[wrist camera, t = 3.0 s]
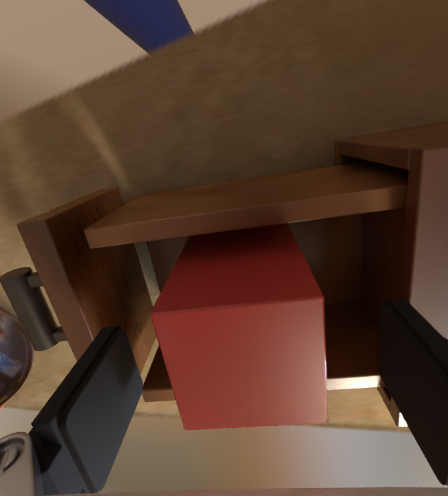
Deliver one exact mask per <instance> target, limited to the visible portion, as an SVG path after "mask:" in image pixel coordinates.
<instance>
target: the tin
mask: <svg viewBox="0 0 448 496" xmlns="http://www.w3.org/2000/svg"><path fill="white" fill-rule="evenodd" d="M33 361H34V348H33V346H32V344H31V342H30V340H29V338H28V336H27V334H26V332H25V330H24V328H23V326H22V324H21V322H20V321H19V320H18V319H16V318H15V317H14V316H12V315H11V314H9V313H8V312H6V311H4V310H3V309H1V308H0V410H1V409H2V408H3V407H4V406H5V404H6V403H7V402H8V401H10V400H11V399H12V398H13V397H14V396H15V395H16V394H17V393H18V392H19V390H20V389H21V388H22V386H23V385H24V384H25V382H26V380H27V379H28V377H29V374H30V372H31V369H32V366H33Z"/></svg>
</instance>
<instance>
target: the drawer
mask: <svg viewBox="0 0 448 496" xmlns="http://www.w3.org/2000/svg"><path fill="white" fill-rule="evenodd" d="M408 177H409V170H405V169H401V168H397V167H393V166H388V165H384V164H380V163H376V162H371V161H364V162H357V163H350V164H344V165H337V166H330V167H324V168H317V169H310V170H304V171H297V172H290V173H284V174H277V175H270V176H264V177H257V178H251V179H244V180H237V181H231V182H224V183H217V184H211V185H204V186H197V187H191V188H184V189H177V190H171V191H164V192H157V193H151V194H144V195H139V196H138V197H136V198H134V199H133V200H131V201H129V202H128V203H126V204H125V205H123V203H122V200H121V197H120V193H119V190H118V188H117V187H116V188H110V189H103V190H98V191H96V192H94V193H91V194H89V195H86V196H84V197H81V198H79V199H77V200H74V201H72V202H69V203H67V204H64V205H62V206H59V207H57V208H55V209H52V210H50V211H47V212H45V213H42V214H40V215H38V216H35V217H33V218H30V219H28V220H25V221H23V222H21V223H18V224H17V227H18V230H19V232H20V234H21V236H22V239H23V241H24V243H25V245H26V248H27V250H28V252H29V254H30V257H31V259H32V261H33V263H34V266H35V268H36V270H37V272H34V273H33V271H32V269H31V268H30V267H23V268H18V269H15V270H12V271H9V272H7V273H5V274H4V275H2V276H1V277H0V282H1V284H2V286H3V288H4V290H5V292H6V294H7V296H8V298H9V300H10V302H11V304H12V306H13V308H14V310H15V312H16V314H17V316H18V318H19V320H20V322H21V324H22V326H23V328H24V330H25V332H26V334H27V336H28V338H29V340H30V342H31V344H32V346H33V348H34V349H35V350H36V351H43V350H46V349H49V348H51V347H53V346H54V345H56V344H57V343H58V342H59V341H68V342H69V344H70V347H71V349H72V351H73V353H74V356H75V358H76V360H77V361H78V360H79V359H80V357H81V356H82V355H83V353H84V352H85V351H86V349H87V348H88V347H89V345H90V344H91V343H92V341H93V340H94V338H95V337H96V336H97V334H98V333H99V332H100V330H101V329H102V328H104V327H111V326H120V327H121V329H124V330H125V331H126V334H127V337H128V340H129V343H130V346H131V349H132V352H133V355H134V358H135V361H136V364H137V367H138V370H139V373H140V374H141V372H142V370H143V367H144V365H145V362H146V360H147V358H148V355H149V353H150V351H151V348H152V346H153V343H154V341H155V339H156V333H155V329H154V326H153V323H152V319H151V316H150V313H151V311H152V309H153V306H152V303H151V299H150V296H149V292H148V289H147V286H146V282H145V279H144V275H143V272H142V268H141V265H140V262H139V258H138V255H137V251H136V248H135V244H134V243H139V242H147V245H148V249H149V252H150V256H151V260H152V263H153V267H154V270H155V274H156V278H157V281H158V285H159V289H160V292H161V291H162V289H163V287H164V285H165V283H166V281H167V279H168V277H169V275H170V273H171V272H172V270H173V268H174V266H175V264H176V262H177V260H178V258H179V256H180V254H181V252H182V250H183V248H184V246H185V244H186V242H187V240H188V238H189V236H193V235H200V234H208V233H216V232H223V231H231V230H239V229H246V228H254V227H262V226H269V225H277V224H285V223H288V225H289V227H290V229H291V231H292V233H293V235H294V237H295V239H296V241H297V243H298V245H299V247H300V249H301V251H302V253H303V255H304V257H305V259H306V261H307V263H308V265H309V267H310V269H311V271H312V274H313V276H314V278H315V280H316V282H317V284H318V286H319V288H320V290H321V292H322V294H323V296H324V307H325V337H326V368H327V391H328V390H344V389H359V388H375V387H386V386H385V384H384V382H383V381H382V379H381V377H380V374H379V371H378V349H379V326H380V308H381V306H385V303H386V302H387V301H392V300H399V291H400V279H401V266H402V253H403V240H404V228H405V215H406V202H407V190H408ZM40 286H44V288H45V290H46V293H47V295H48V297H49V299H50V302H51V304H52V306H53V308H54V311H55V313H56V315H57V317H58V320H59V322H60V324H61V326H62V327H57V324H56V322H55V320H54V318H53V316H52V313H51V311H50V309H49V307H48V304H47V302H46V300H45V298H44V296H43V293H42V291H41V289H40ZM142 395H143V398H144V400H145V402H155V401H171V400H176V399H175V396H174V393H173V389H172V386H171V383H170V379H169V376H168V373H167V369H166V366H165V363H164V359H163V356H162V353H161V349H160V346H158V349H157V351H156V354H155V357H154V359H153V362H152V364H151V367H150V369H149V372H148V375H147V377H146V380H145V382H144V385H143V391H142Z"/></svg>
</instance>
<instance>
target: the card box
mask: <svg viewBox="0 0 448 496" xmlns="http://www.w3.org/2000/svg"><path fill="white" fill-rule="evenodd" d="M150 316H151V319H152V323H153V326H154V329H155V333H156V336H157V339H158V343H159V346H160V349H161V353H162V356H163V359H164V363H165V366H166V369H167V373H168V376H169V379H170V383H171V386H172V389H173V393H174V396H175V399H176V403H177V406H178V409H179V413H180V416H181V419H182V423H183V426H184V429H185V430H198V429H218V428H238V427H258V426H278V425H297V424H317V423H327V422H328V398H327V368H326V337H325V307H324V296H323V294H322V292H321V290H320V288H319V286H318V284H317V282H316V280H315V278H314V276H313V274H312V271H311V269H310V267H309V265H308V263H307V261H306V259H305V257H304V255H303V253H302V251H301V249H300V247H299V245H298V243H297V241H296V239H295V237H294V235H293V233H292V231H291V229H290V227H289V225H288V223H285V224H277V225H269V226H262V227H254V228H246V229H239V230H231V231H223V232H216V233H208V234H200V235H193V236H189V238H188V240H187V242H186V244H185V246H184V248H183V250H182V252H181V254H180V256H179V258H178V260H177V262H176V264H175V266H174V268H173V270H172V272H171V273H170V275H169V277H168V279H167V281H166V283H165V285H164V287H163V289H162V291H161V293H160V295H159V297H158V299H157V301H156V303H155V305H154V307H153V309H152V311H151V313H150Z"/></svg>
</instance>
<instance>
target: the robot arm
mask: <svg viewBox="0 0 448 496" xmlns="http://www.w3.org/2000/svg"><path fill="white" fill-rule="evenodd" d="M378 371H379V374H380V377H381V379H382V381H383V382H384V384H385V386H386V388H387V390H388V391H389V393H390V395H391V397H392V399H393V400H394V402H395V404H396V406H397V407H398V409H399V411H400V413H401V415H402V416H403V418H404V420H405V422H406V424H407V425H408V427H409V429H410V431H411V432H412V434H413V436H414V438H415V440H416V441H417V443H418V445H419V447H420V448H421V450H422V452H423V454H424V455H425V457H426V459H427V461H428V463H429V465H430V466H431V468H432V470H433V472H434V473H435V475H436V477H437V479H438V480H439V482H440V483H441V484H443V485H448V339H447V338H444V337H443V336H442V335H441V334H440V333H439V332H438V331H437V330H436V329H435V328H434V327H433V326H432V325H431V324H430V323H429V322H428V321H427V320H426V319H425V318H424V317H423V316H422V315H421V314H420V313H419V312H418V311H417V310H416V309H415V308H414V307H413V306H412V305H411V304H410V303H409V302H408V301H407V300H404V299H403V300H392V301H387V302H386V303H385V306H381V308H380V326H379V349H378ZM142 391H143V382H142V379H141V376H140V373H139V370H138V367H137V364H136V361H135V358H134V355H133V352H132V349H131V346H130V343H129V340H128V337H127V334H126V331H125V330H124V329H121V327H120V326H111V327H104V328H102V329H101V330H100V332H99V333H98V334H97V336H96V337H95V338H94V340H93V341H92V343H91V344H90V345H89V347H88V348H87V349H86V351H85V352H84V353H83V355H82V356H81V357H80V359H79V360H78V361H77V363H76V364H75V365H74V367H73V368H72V369H71V371H70V372H69V373H68V375H67V376H66V377H65V379H64V380H63V381H62V383H61V384H60V386H59V387H58V388H57V390H56V391H55V392H54V394H53V395H52V396H51V398H50V399H49V400H48V402H47V403H46V404H45V406H44V407H43V408H42V410H41V411H40V412H39V414H38V415H37V416H36V418H35V419H34V420H33V422H32V423H31V425H32V426H33V428H32V430H31V431H30V432H29V434H27V433H26V432H16V433H12V434H10V435H7V436H5V437H3V438H1V439H0V496H448V488H414V487H411V488H410V487H408V488H407V487H403V488H401V487H399V488H398V487H377V488H376V487H375V488H300V489H297V488H294V489H241V490H240V489H237V490H184V491H145V492H144V491H143V492H103V493H98V491H101V490H102V489H103V487H104V485H105V483H106V481H107V478H108V476H109V473H110V471H111V468H112V466H113V463H114V461H115V458H116V456H117V453H118V451H119V448H120V446H121V443H122V441H123V438H124V436H125V433H126V431H127V428H128V426H129V423H130V421H131V419H132V416H133V414H134V411H135V409H136V406H137V404H138V401H139V399H140V396H141V394H142Z"/></svg>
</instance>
